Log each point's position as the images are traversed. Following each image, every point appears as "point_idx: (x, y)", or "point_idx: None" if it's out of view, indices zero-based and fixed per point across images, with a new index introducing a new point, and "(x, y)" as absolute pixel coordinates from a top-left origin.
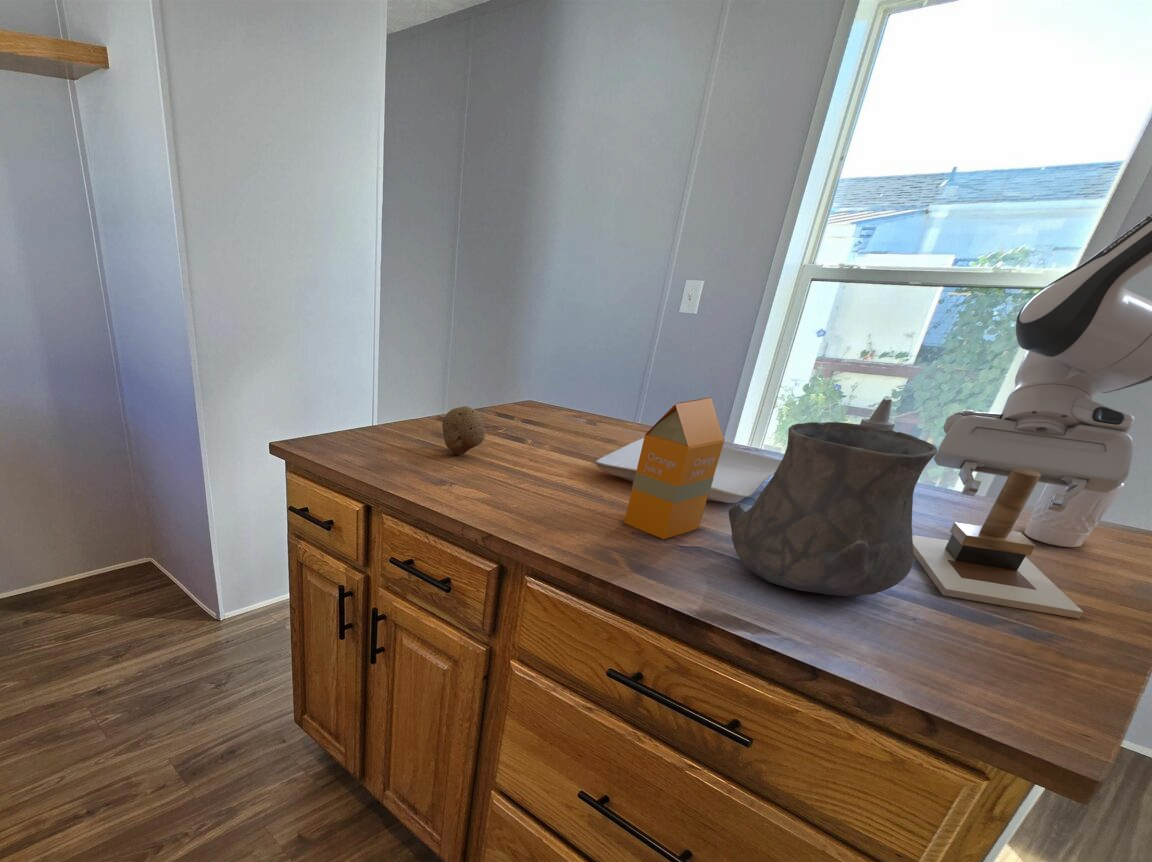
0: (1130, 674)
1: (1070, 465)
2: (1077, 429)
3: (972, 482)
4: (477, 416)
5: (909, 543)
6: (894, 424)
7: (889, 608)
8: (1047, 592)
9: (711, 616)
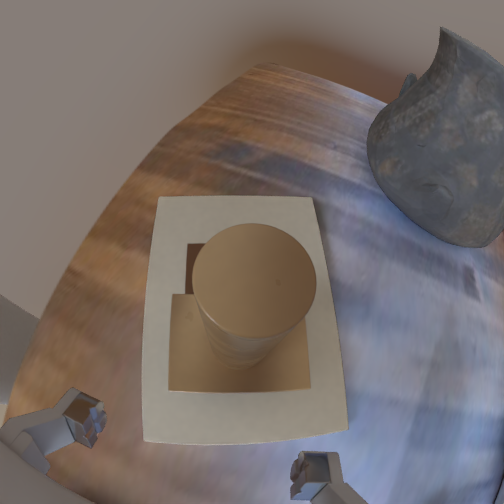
0: (181, 122)
1: (12, 485)
2: None
3: (329, 473)
4: None
5: (390, 108)
6: None
7: (355, 159)
8: (174, 241)
9: None
